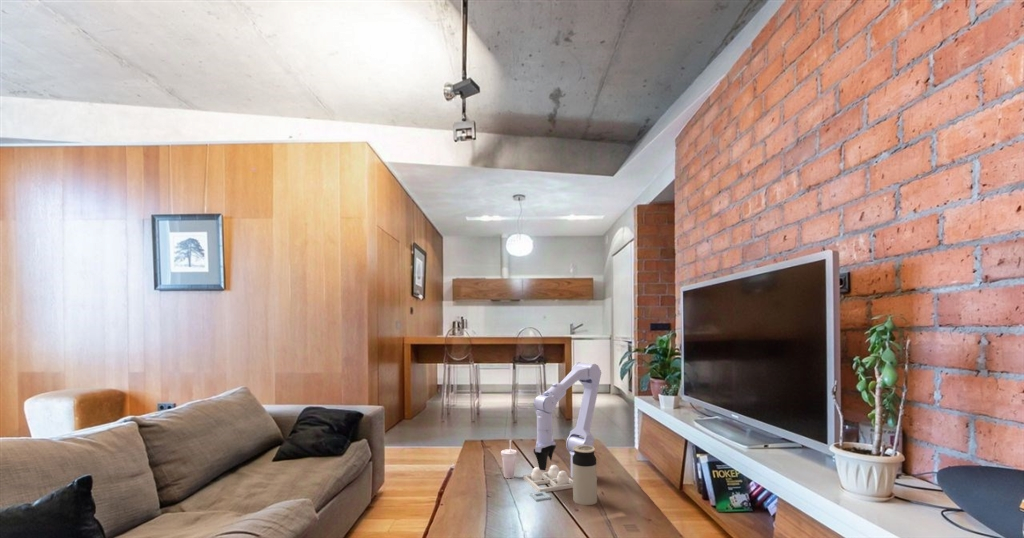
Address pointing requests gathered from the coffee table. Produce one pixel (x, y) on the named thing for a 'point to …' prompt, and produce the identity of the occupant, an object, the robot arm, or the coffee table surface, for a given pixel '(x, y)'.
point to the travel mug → (584, 475)
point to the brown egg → (548, 463)
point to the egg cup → (534, 496)
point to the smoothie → (509, 462)
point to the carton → (547, 480)
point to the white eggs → (551, 475)
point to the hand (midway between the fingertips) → (545, 467)
